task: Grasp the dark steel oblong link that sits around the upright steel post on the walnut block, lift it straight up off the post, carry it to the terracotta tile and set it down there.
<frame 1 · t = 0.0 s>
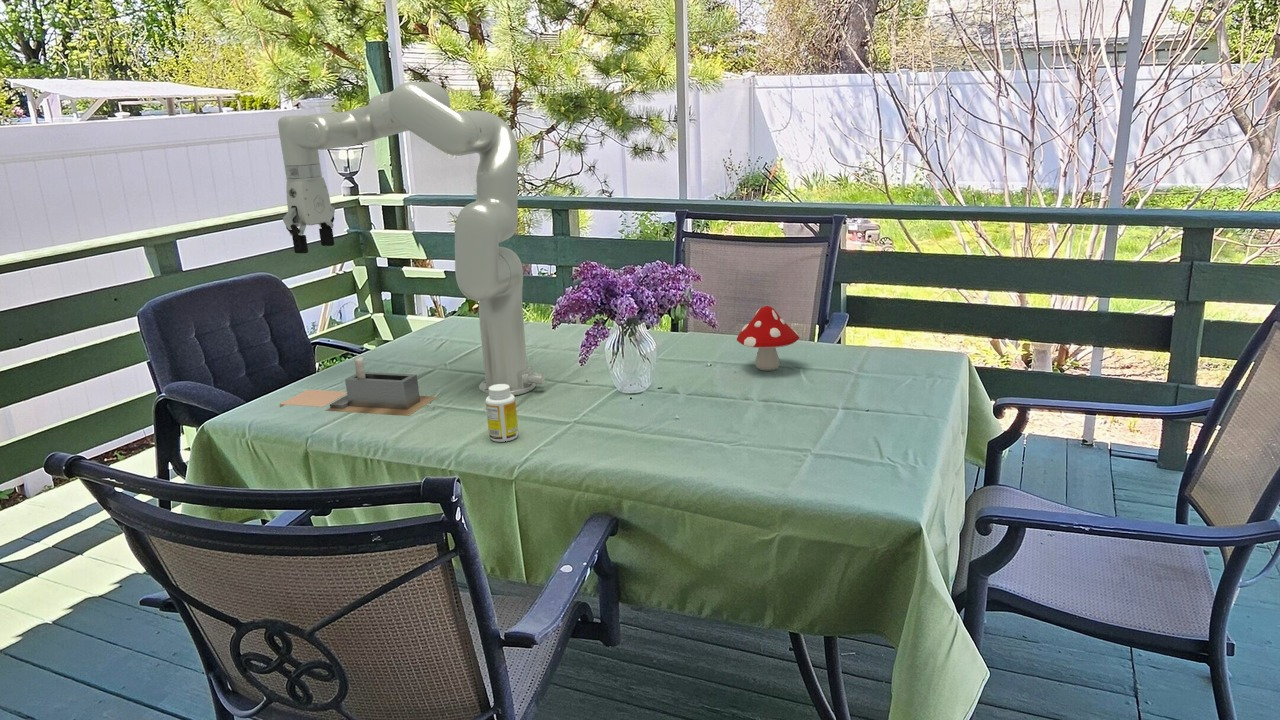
hand: (315, 249, 204), 31 cm above the table, tool pointing down, fingers open, 9 cm apart
supplement bottle: (504, 438, 171), on the table
post block: (382, 407, 192), on the table
decorative mushroom: (768, 370, 205), on the table
steel link: (384, 403, 192), point 1 cm above the table, touching post block
terracotta tile: (315, 401, 198), on the table
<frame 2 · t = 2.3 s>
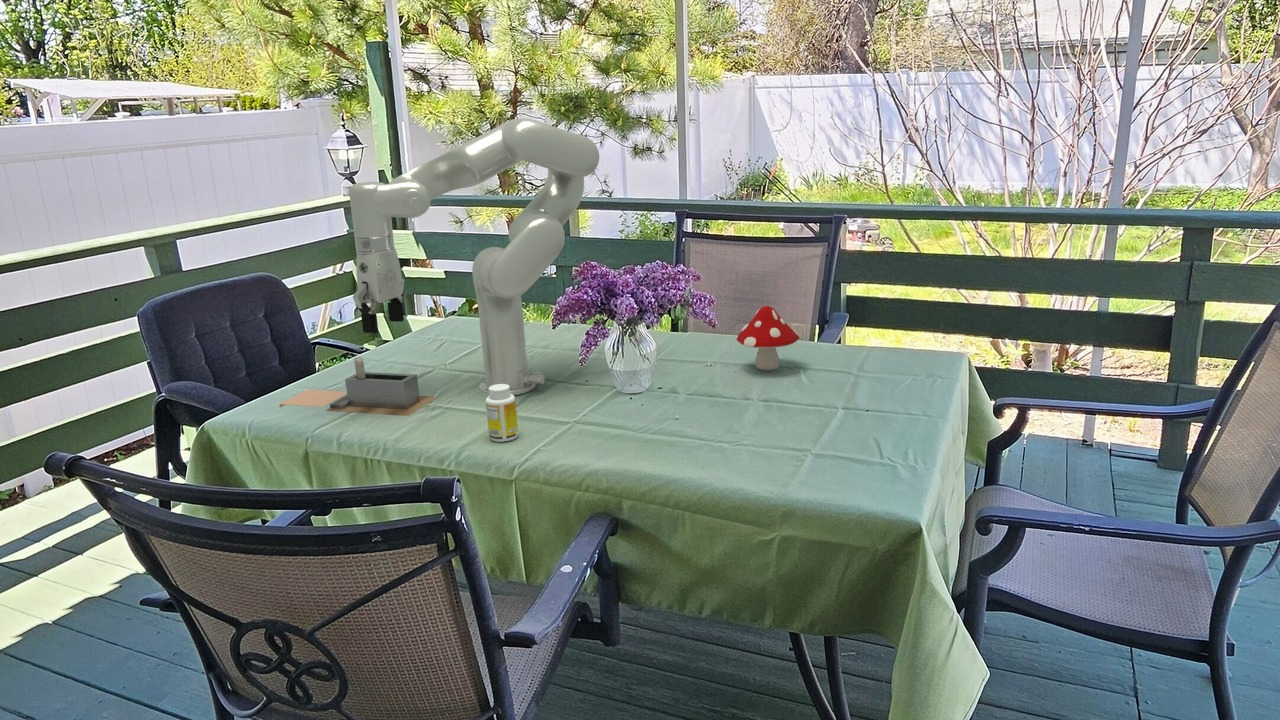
hand: (384, 326, 186), 18 cm above the table, tool pointing down, fingers open, 9 cm apart
nothing on the table moved.
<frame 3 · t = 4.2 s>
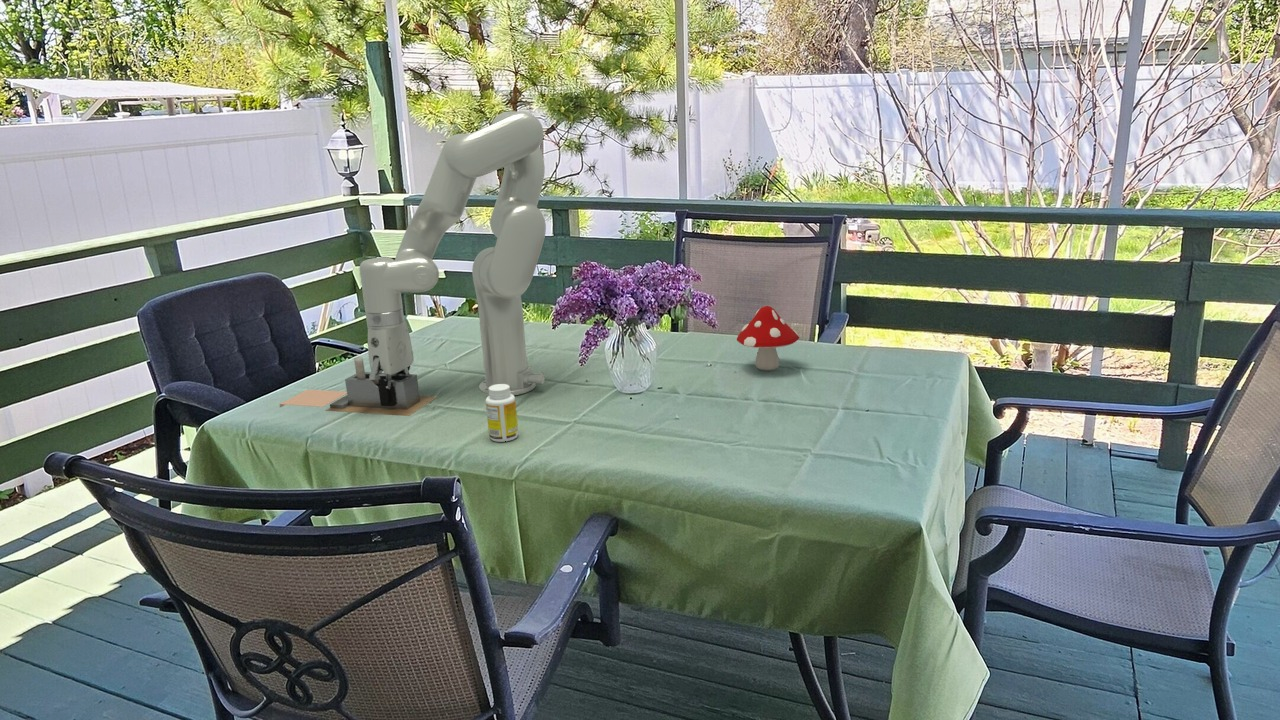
hand: (395, 400, 191), 2 cm above the table, tool pointing down, fingers closed on steel link, 5 cm apart
steel link: (384, 403, 192), point 1 cm above the table, touching gripper, post block
everything else where it was.
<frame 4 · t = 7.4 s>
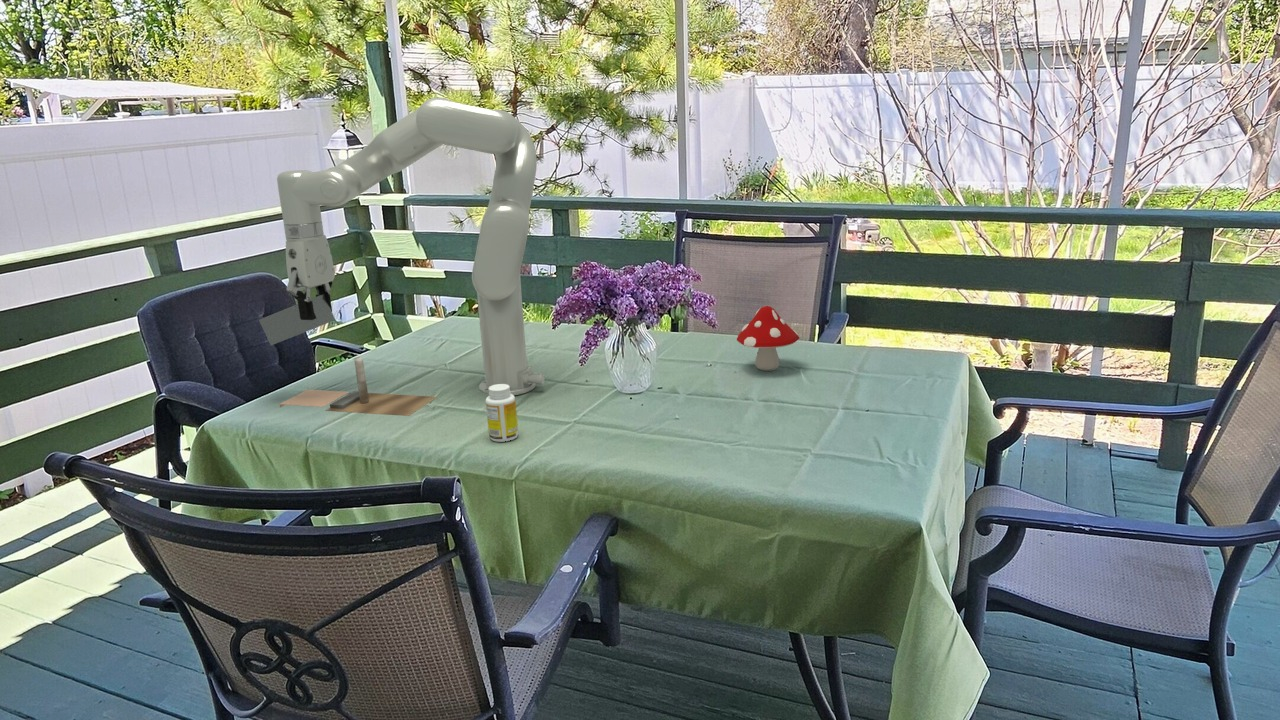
hand: (316, 315, 191), 20 cm above the table, tool pointing down, fingers closed on steel link, 5 cm apart
steel link: (303, 332, 193), point 16 cm above the table, tilted 20°, touching gripper
everything else where it was.
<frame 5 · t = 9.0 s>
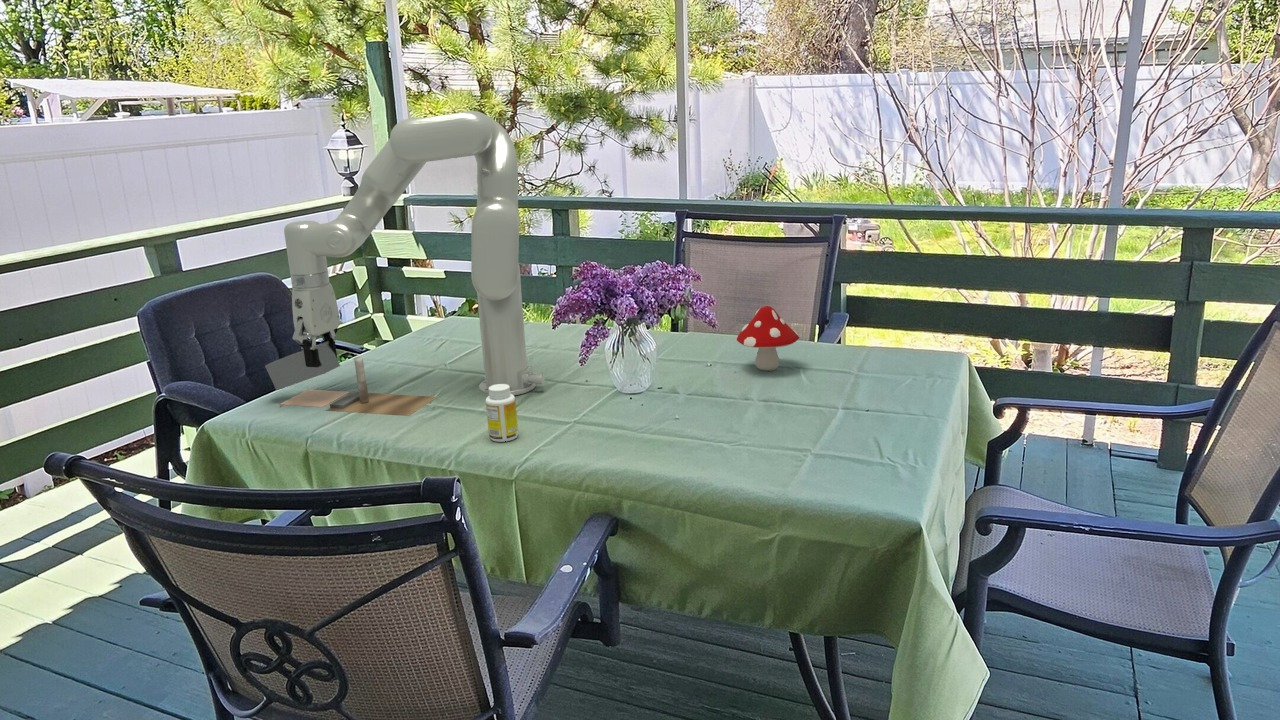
hand: (321, 361, 194), 9 cm above the table, tool pointing down, fingers closed on steel link, 5 cm apart
steel link: (308, 378, 197), point 5 cm above the table, tilted 19°, touching gripper
everything else where it was.
when the fingers open (4 cm above the table, at t = 10.4 s): steel link stays where it is, resting on terracotta tile.
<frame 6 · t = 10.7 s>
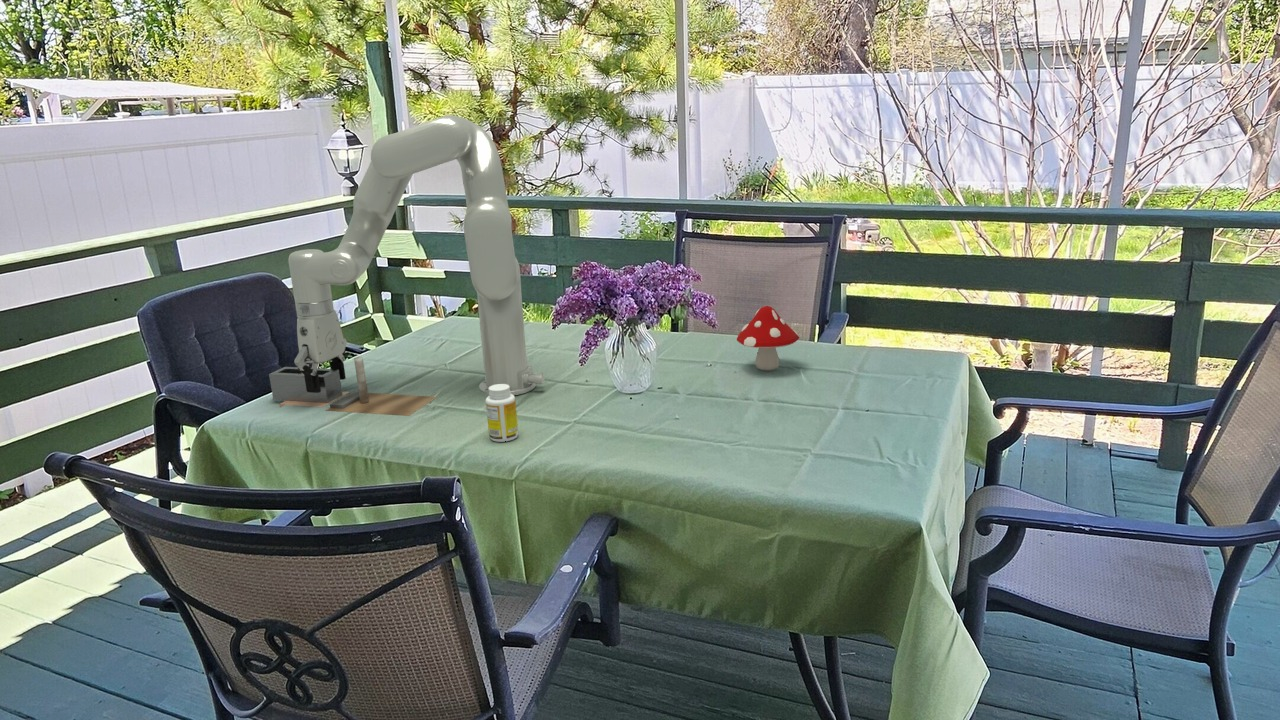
hand: (326, 385, 196), 4 cm above the table, tool pointing down, fingers open, 8 cm apart
steel link: (308, 397, 198), point 1 cm above the table, touching terracotta tile
everything else where it was.
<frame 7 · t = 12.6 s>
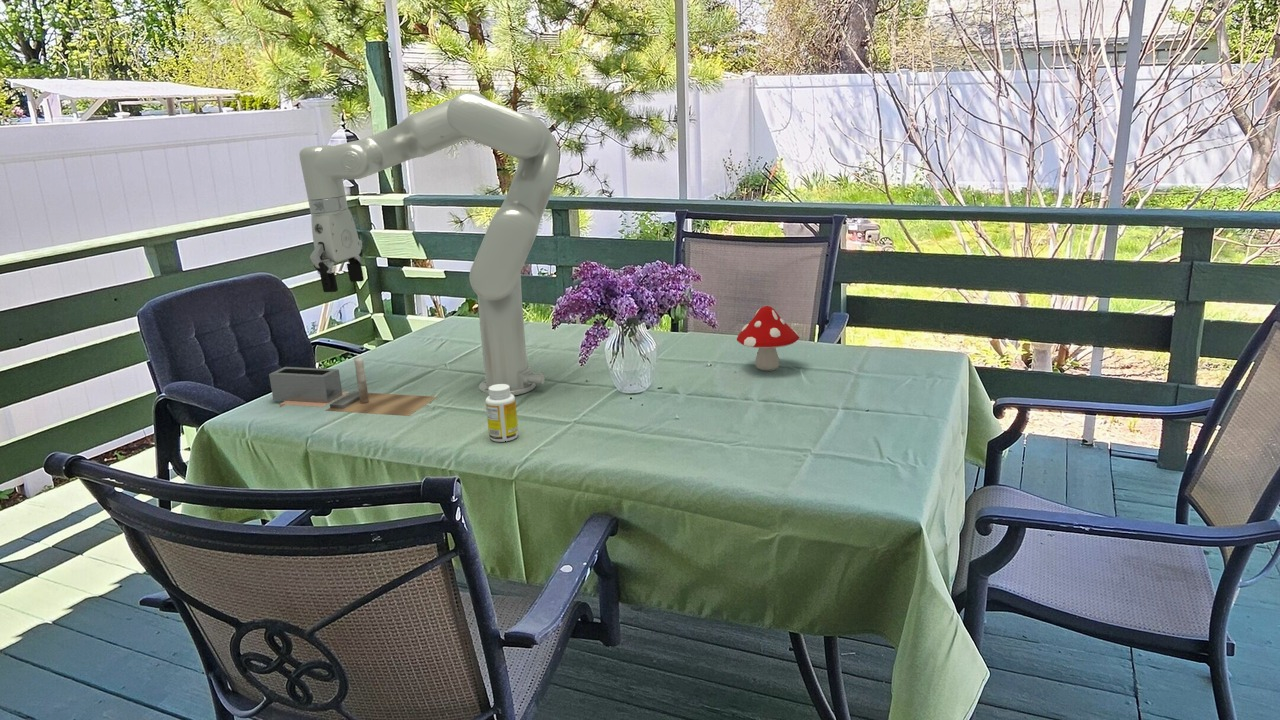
hand: (344, 286, 192), 25 cm above the table, tool pointing down, fingers open, 9 cm apart
nothing on the table moved.
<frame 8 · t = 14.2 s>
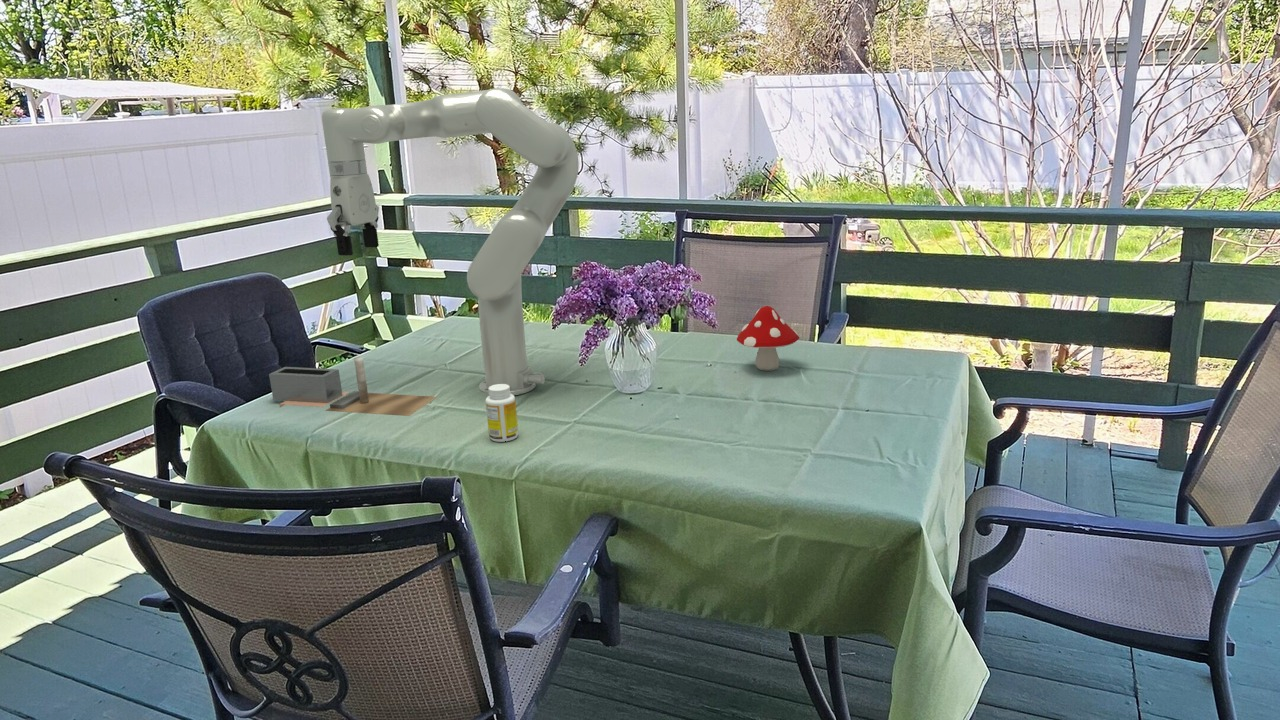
hand: (359, 250, 192), 32 cm above the table, tool pointing down, fingers open, 9 cm apart
nothing on the table moved.
at the end: steel link inside the target area on the terracotta tile (1.8 cm from its centre), point 0.8 cm above the terracotta tile's base; steel link tilted 0°; the gripper is holding nothing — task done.
